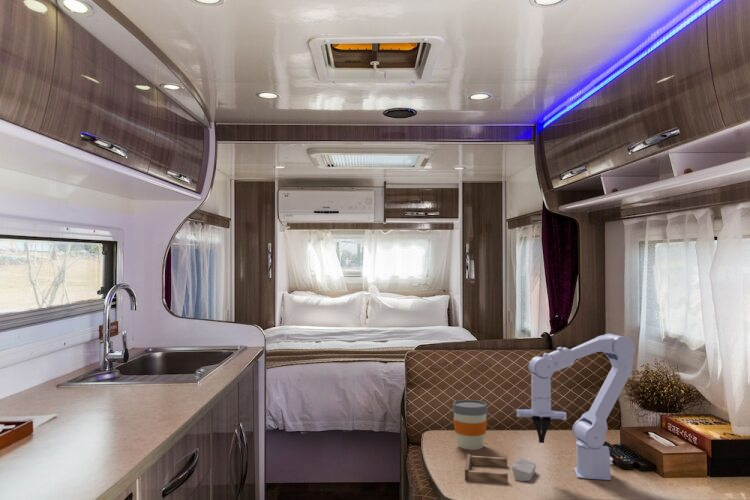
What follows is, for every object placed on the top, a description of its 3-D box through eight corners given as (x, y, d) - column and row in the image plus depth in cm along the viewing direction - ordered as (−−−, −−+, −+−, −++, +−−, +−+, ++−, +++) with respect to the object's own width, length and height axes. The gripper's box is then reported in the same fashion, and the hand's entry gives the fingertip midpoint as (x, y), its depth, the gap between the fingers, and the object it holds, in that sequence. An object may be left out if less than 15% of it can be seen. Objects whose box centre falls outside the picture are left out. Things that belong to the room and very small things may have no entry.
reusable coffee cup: (494, 449, 194) (493, 406, 194) (460, 452, 191) (460, 408, 192) (479, 439, 206) (479, 398, 207) (447, 442, 203) (447, 400, 204)
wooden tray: (507, 465, 177) (506, 456, 177) (507, 483, 163) (507, 472, 163) (467, 463, 180) (467, 453, 180) (464, 479, 165) (464, 469, 165)
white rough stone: (526, 492, 164) (530, 477, 162) (506, 483, 167) (509, 468, 165) (535, 473, 172) (538, 458, 170) (516, 464, 175) (519, 450, 173)
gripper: (517, 398, 166) (517, 444, 166) (567, 400, 163) (568, 447, 163) (516, 393, 173) (516, 437, 173) (564, 395, 170) (565, 440, 169)
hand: (541, 441), depth 168 cm, fingers closed
